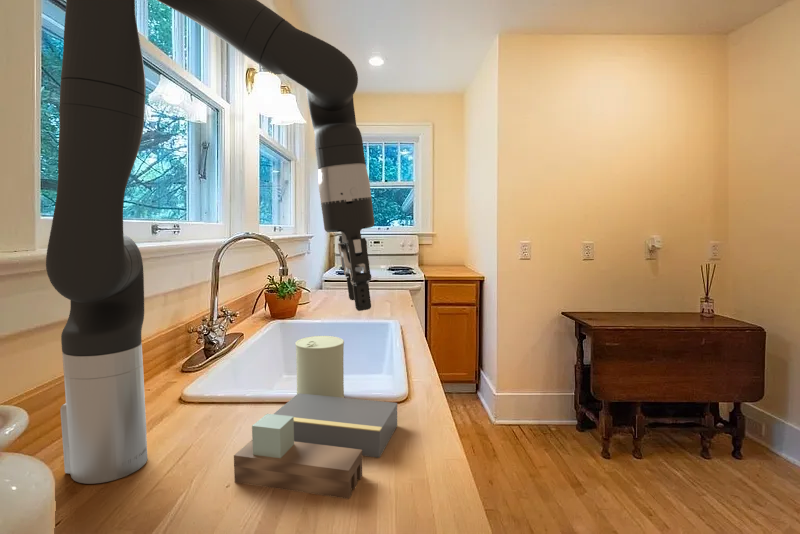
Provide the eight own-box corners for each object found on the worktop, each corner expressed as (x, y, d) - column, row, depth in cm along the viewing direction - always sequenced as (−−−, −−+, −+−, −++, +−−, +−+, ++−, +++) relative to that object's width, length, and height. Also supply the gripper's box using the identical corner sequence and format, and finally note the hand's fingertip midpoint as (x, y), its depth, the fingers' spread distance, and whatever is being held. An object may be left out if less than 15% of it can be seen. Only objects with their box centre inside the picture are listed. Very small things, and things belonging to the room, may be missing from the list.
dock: (268, 443, 74) (267, 417, 73) (298, 415, 84) (298, 392, 84) (379, 457, 69) (379, 430, 69) (397, 425, 80) (397, 402, 80)
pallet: (234, 483, 63) (233, 455, 62) (256, 463, 68) (255, 436, 68) (348, 500, 59) (348, 470, 59) (362, 477, 65) (362, 449, 64)
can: (285, 403, 89) (284, 341, 88) (316, 388, 97) (315, 331, 96) (325, 413, 85) (324, 348, 84) (353, 396, 93) (353, 336, 92)
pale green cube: (252, 454, 63) (252, 425, 62) (267, 440, 67) (267, 413, 66) (280, 458, 62) (279, 428, 61) (294, 444, 66) (293, 416, 65)
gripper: (318, 202, 76) (331, 300, 79) (323, 199, 63) (339, 318, 65) (364, 196, 78) (376, 293, 80) (378, 193, 64) (393, 309, 66)
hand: (359, 304), depth 72 cm, fingers open, 8 cm apart
